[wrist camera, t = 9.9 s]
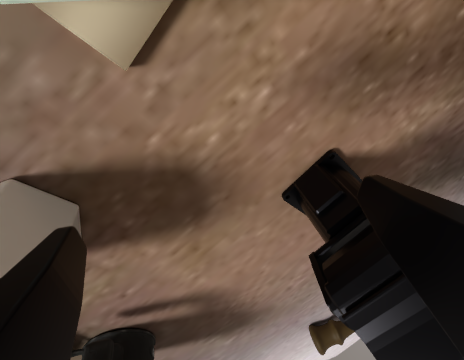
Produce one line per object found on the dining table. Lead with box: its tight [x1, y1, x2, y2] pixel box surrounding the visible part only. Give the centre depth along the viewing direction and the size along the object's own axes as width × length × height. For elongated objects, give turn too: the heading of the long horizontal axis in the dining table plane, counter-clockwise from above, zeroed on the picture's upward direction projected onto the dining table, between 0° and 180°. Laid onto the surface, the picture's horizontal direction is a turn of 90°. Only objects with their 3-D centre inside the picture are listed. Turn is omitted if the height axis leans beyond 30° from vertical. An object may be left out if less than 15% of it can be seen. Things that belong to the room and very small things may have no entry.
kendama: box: [309, 319, 355, 355], centre depth 47 cm, size 6×10×20 cm
